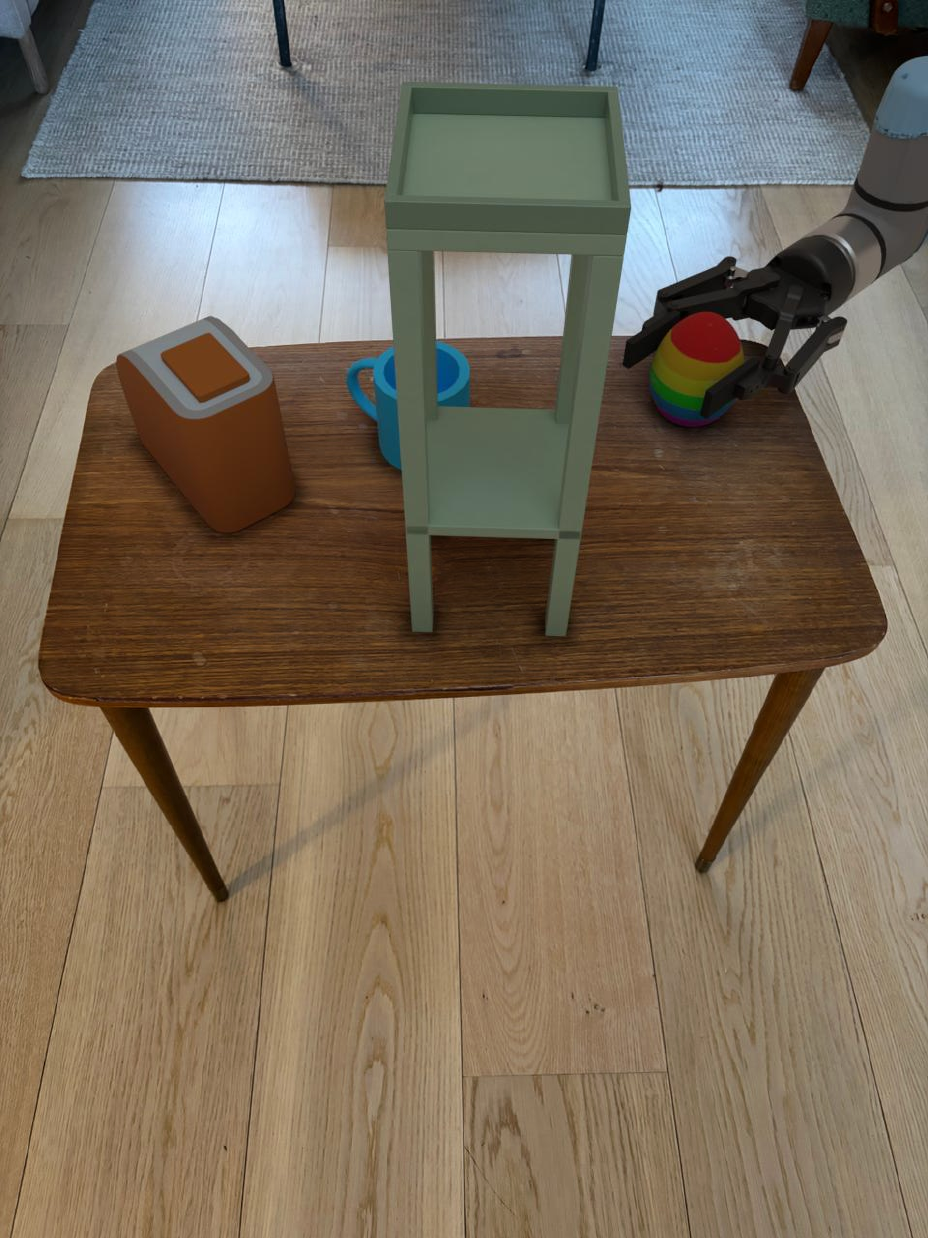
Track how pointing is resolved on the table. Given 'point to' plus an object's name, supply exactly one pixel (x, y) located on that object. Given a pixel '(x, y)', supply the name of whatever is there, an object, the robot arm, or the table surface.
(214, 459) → the alarm clock
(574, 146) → the stand
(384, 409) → the mug
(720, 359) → the decorative egg
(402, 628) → the table surface
